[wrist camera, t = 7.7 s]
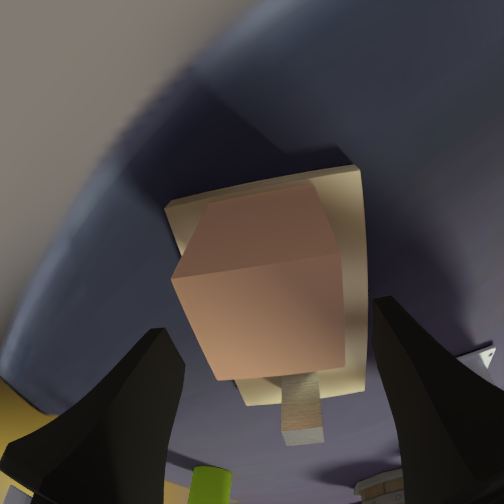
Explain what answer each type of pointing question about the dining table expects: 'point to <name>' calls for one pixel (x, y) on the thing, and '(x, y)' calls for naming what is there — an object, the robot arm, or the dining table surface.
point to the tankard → (382, 488)
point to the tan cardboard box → (265, 286)
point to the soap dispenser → (210, 486)
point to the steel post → (301, 409)
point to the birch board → (352, 260)
